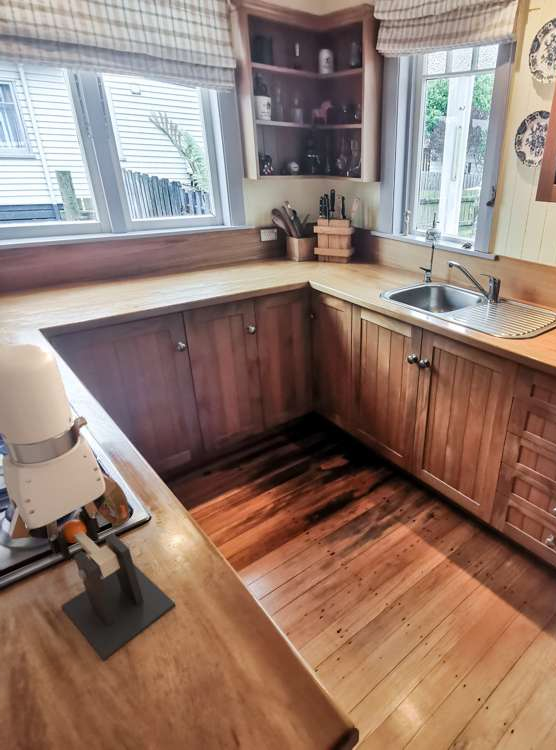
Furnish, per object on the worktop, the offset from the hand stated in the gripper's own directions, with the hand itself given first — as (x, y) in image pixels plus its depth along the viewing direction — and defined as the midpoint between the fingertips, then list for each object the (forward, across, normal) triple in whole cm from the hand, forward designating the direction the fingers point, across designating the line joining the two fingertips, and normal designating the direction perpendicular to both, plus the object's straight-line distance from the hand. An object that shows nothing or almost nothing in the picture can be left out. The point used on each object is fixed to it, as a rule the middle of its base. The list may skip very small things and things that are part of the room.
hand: (77, 543), depth 67 cm
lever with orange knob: (-1, 0, +4) cm, 5 cm away
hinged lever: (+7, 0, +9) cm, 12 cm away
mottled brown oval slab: (+8, -8, -12) cm, 17 cm away
